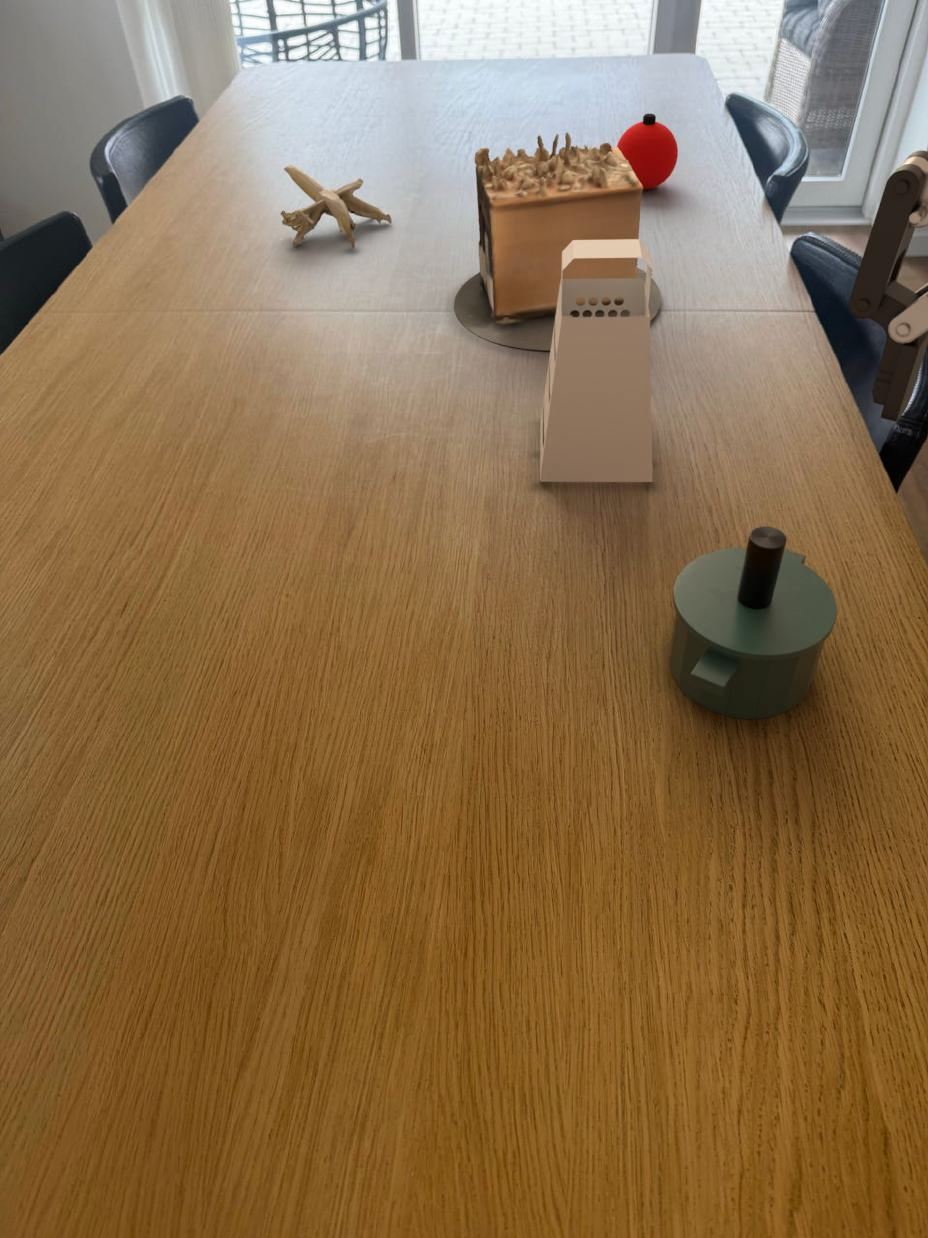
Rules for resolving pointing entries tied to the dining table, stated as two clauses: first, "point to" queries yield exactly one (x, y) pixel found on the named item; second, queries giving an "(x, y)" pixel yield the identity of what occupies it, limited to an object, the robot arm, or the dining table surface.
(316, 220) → the branching beige root
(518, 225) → the planter
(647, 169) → the ornament
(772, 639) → the lid
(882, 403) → the robot arm
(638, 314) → the grater
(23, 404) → the dining table surface
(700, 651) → the pot
